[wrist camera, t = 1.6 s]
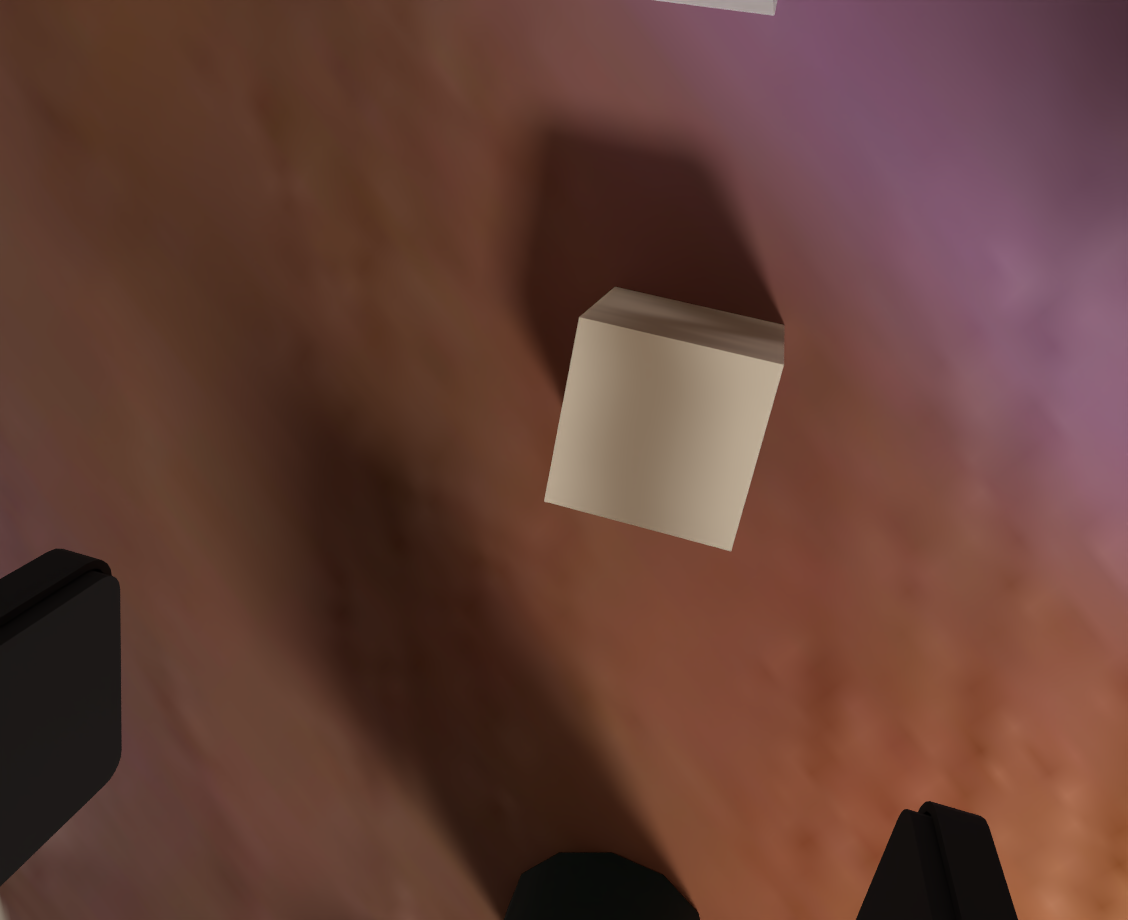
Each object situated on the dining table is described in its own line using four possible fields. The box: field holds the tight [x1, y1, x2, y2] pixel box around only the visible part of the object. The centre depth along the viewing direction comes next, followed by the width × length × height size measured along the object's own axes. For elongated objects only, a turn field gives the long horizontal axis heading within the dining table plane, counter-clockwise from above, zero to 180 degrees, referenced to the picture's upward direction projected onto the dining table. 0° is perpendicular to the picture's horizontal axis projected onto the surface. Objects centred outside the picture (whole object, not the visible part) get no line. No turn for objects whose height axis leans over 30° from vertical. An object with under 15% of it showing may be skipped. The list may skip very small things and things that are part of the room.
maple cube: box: [544, 287, 784, 551], centre depth 24 cm, size 5×5×5 cm
